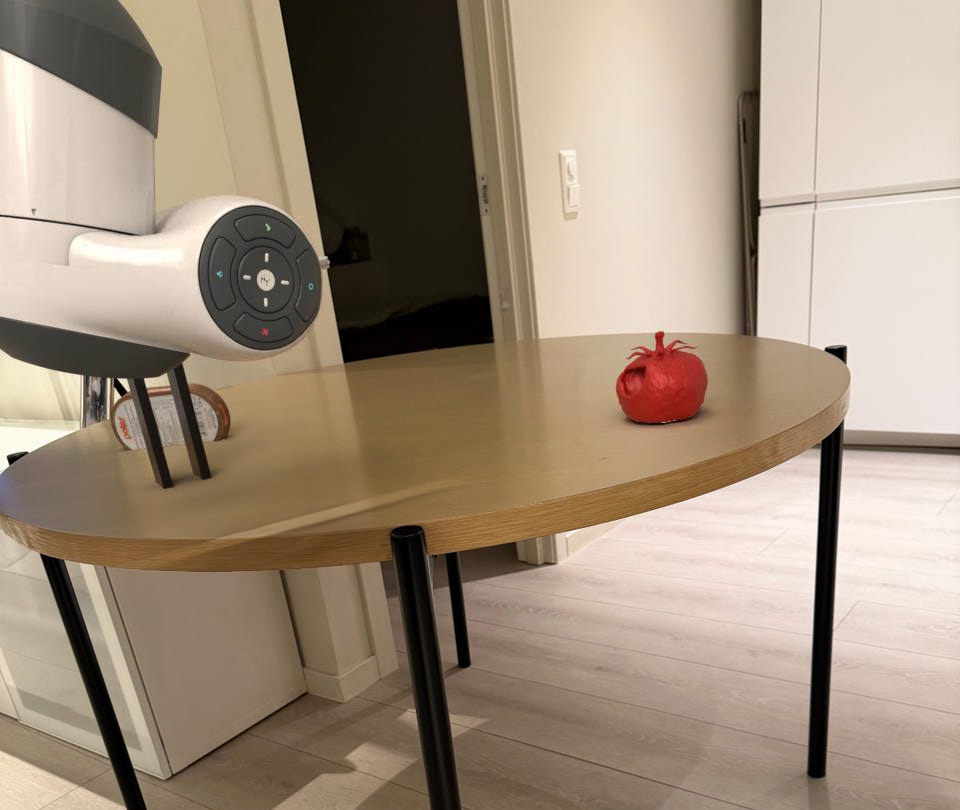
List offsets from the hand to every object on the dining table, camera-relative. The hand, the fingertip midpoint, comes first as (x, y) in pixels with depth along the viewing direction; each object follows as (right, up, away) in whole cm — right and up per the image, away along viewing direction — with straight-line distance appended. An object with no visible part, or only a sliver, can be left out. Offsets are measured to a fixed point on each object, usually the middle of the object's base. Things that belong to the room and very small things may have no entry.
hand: (149, 283), depth 69 cm
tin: (-13, -4, +45) cm, 47 cm away
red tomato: (+46, -3, +30) cm, 55 cm away
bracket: (-6, -12, +25) cm, 29 cm away
